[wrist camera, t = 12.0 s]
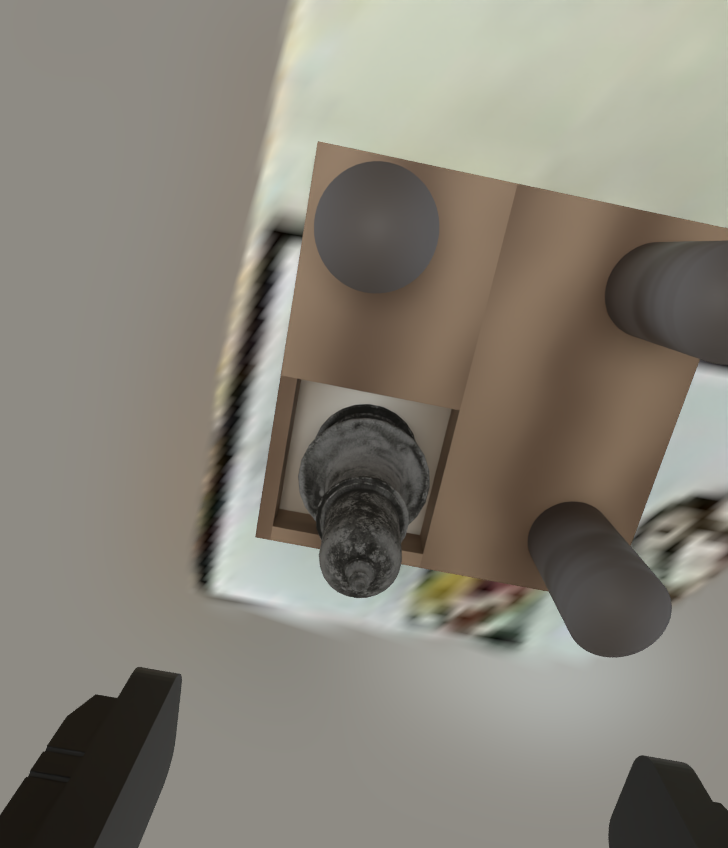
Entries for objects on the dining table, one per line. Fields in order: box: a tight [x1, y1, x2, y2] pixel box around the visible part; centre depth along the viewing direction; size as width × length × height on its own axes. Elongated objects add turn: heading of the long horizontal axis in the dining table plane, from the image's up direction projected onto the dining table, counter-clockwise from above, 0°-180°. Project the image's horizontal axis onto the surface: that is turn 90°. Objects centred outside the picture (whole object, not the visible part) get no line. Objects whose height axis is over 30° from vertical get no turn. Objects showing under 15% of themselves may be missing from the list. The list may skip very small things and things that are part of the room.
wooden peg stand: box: [255, 141, 728, 657], centre depth 25 cm, size 18×18×9 cm
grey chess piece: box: [298, 404, 430, 598], centre depth 23 cm, size 6×6×12 cm
